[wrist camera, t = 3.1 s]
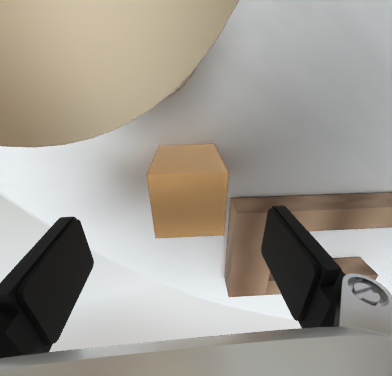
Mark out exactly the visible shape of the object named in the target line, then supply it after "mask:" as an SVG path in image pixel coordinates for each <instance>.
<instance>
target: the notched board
mask: <svg viewBox="0 0 392 376" xmlns="http://www.w3.org/2000/svg"><path fill="white" fill-rule="evenodd" d="M280 205H284V206H286V207H287V209H288V210H289V211H290V212H291V213H292V214H293V215H294V216H295V217H296V218H297V220H298V221H299V222H300V223H301V224H302V225H303V226H304V227H305V228H306V230H307V231H324V230H345V229H367V228H388V227H392V192H384V193H358V194H332V195H306V196H280V197H254V198H231V203H230V216H229V228H228V241H227V253H226V266H225V282H226V286H227V291H228V296H229V297H239V296H256V295H273V294H281V292H280V290H279V288H278V286H277V284H276V282H275V280H274V278H273V276H272V274H271V272H270V270H269V268H268V266H267V264H266V262H265V260H264V258H263V256H262V253H261V246H262V240H263V235H264V229H265V224H266V218H267V213H268V210H269V209H271V207H272V206H280ZM333 260H334V261H335V262H336V263H337V264H338V265H339V266H340V267H341V268H342V269H341V270H342V271H343V272H344V274H345V275H347V274H352V273H354V274H361V275H364V276H367V277H369V278H371V279H373V280H376V278H377V276H378V274H377V273H376V272H375V271H374V270H373V269H372V268H371V267H370V266H368V265H367V264H366V263H365V262H364V261H363V260H362V259H361V258H360V257H351V258H333Z"/></svg>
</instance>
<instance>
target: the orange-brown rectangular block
mask: <svg viewBox="0 0 392 376" xmlns="http://www.w3.org/2000/svg"><path fill="white" fill-rule="evenodd" d="M228 174H229V172H228V170H227V168H226V166H225V164H224V162H223V160H222V158H221V156H220V154H219V152H218V150H217V149H216V147H215V145H214V144H185V145H159V146H158V149H157V151H156V153H155V156H154V158H153V161H152V163H151V166H150V168H149V170H148V173H147V180H148V188H149V195H150V202H151V210H152V217H153V224H154V231H155V238H173V237H195V236H217V235H224V231H225V216H226V202H227V188H228Z"/></svg>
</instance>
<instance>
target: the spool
mask: <svg viewBox="0 0 392 376" xmlns="http://www.w3.org/2000/svg"><path fill="white" fill-rule="evenodd" d="M238 1H239V0H0V146H9V147H43V146H54V145H65V144H69V143H73V142H78V141H82V140H86V139H91V138H94V137H97V136H99V135H102V134H104V133H107V132H109V131H112V130H114V129H117V128H120V127H122V126H123V125H125V124H127V123H128V122H130V121H132V120H134V119H135V118H137V117H139V116H141V115H142V114H144V113H146V112H147V111H149V110H150V109H152V108H153V107H154V106H156V105H157V104H158V103H159V102H161V101H162V100H163V99H164V98H166V97H167V96H169V95H171V94H172V93H174V92H175V91H177V90H178V89H179V88H180V87H182V85H183V84H184V83H185V82H186V81H187V80H188V79H189V77H190V76H191V75H192V73H193V72H194V70H195V68H196V67H197V65H198V64H199V62H200V61H201V60H202V58H203V57H204V56H205V54H206V53H207V52H208V50H209V49H210V47H211V46H212V45H213V43H214V42H215V40H216V39H217V38H218V36H219V35H220V33H221V31H222V29H223V28H224V26H225V24H226V22H227V21H228V19H229V17H230V15H231V14H232V12H233V10H234V8H235V7H236V5H237V3H238Z"/></svg>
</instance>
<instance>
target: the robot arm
mask: <svg viewBox="0 0 392 376" xmlns="http://www.w3.org/2000/svg"><path fill="white" fill-rule="evenodd" d="M261 253H262V256H263V258H264V260H265V262H266V264H267V266H268V268H269V270H270V272H271V274H272V276H273V278H274V280H275V282H276V284H277V286H278V288H279V290H280V292H281V294H282V296H283V298H284V300H285V302H286V304H287V306H288V308H289V310H290V312H291V314H292V316H293V318H294V319H295V320H296V321H297V320H298V321H299V323H300V325H301V327H302V329H288V330H276V331H264V332H253V333H243V334H231V335H219V336H209V337H198V338H188V339H178V340H167V341H157V342H146V343H137V344H125V345H116V346H106V347H96V348H86V349H77V350H67V351H57V352H49V350H50V348H51V346H52V344H53V343H55V342H57V340H58V339H59V337H60V335H61V333H62V331H63V328H64V326H65V324H66V322H67V320H68V318H69V316H70V314H71V311H72V309H73V307H74V305H75V303H76V301H77V299H78V297H79V295H80V293H81V291H82V289H83V287H84V285H85V282H86V280H87V278H88V276H89V274H90V272H91V270H92V268H93V263H94V261H93V257H92V254H91V251H90V249H89V246H88V243H87V240H86V237H85V234H84V231H83V228H82V225H81V222H80V221H79V220H77V219H76V218H75V217H62V218H59V219H58V220H57V221H56V222H55V224H54V225H53V226H52V227H51V228H50V229H49V230H48V231H47V232H46V233H45V235H44V236H43V237H42V238H41V239H40V240H39V241H38V242H37V243H36V244H35V246H34V247H33V248H32V249H31V250H30V251H29V252H28V253H27V254H26V256H24V258H23V259H22V260H21V261H20V262H19V263H18V264H17V265H16V266H15V267H14V269H13V270H12V271H11V272H10V273H9V274H8V275H7V276H6V277H5V279H3V281H2V282H1V283H0V376H392V295H391V294H390V292H389V291H388V290H387V289H386V288H385V287H384V286H382V285H381V284H380V283H378V282H377V281H375V280H373V279H371V278H369V277H367V276H364V275H361V274H354V273H352V274H347V275H345V274H344V272H343V271H342V270H341V269H342V268H341V267H340V266H339V265H338V264H337V263H336V262H335V261H334V260H333V258H332V257H331V256H330V255H329V254H328V253H327V252H326V251H325V250H324V248H323V247H322V246H321V245H320V244H319V243H318V242H317V241H316V240H315V238H314V237H313V236H312V235H311V234H310V233H309V232H308V231H307V230H306V228H305V227H304V226H303V225H302V224H301V223H300V222H299V221H298V220H297V218H296V217H295V216H294V215H293V214H292V213H291V212H290V211H289V210H288V209H287V207H286V206H284V205H280V206H272V207H271V209H269V210H268V213H267V218H266V224H265V229H264V235H263V240H262V246H261Z"/></svg>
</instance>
